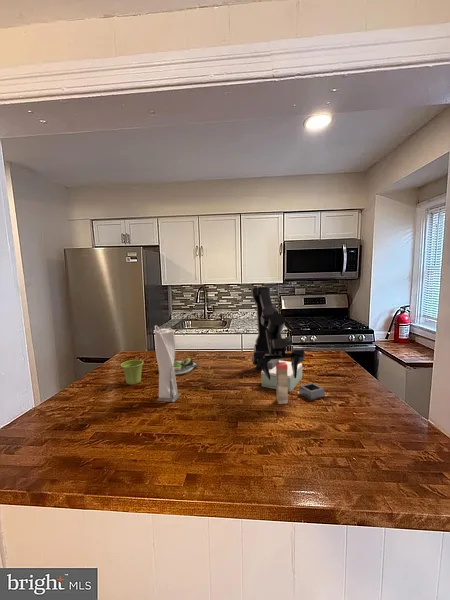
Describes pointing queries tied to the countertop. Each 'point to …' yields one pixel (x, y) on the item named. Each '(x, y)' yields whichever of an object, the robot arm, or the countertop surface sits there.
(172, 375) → the skyscraper
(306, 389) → the key socket
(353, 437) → the countertop surface
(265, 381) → the toolbox
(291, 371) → the toolbox lid
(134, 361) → the plant pot
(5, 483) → the countertop surface
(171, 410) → the countertop surface
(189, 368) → the salad plate
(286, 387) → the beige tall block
